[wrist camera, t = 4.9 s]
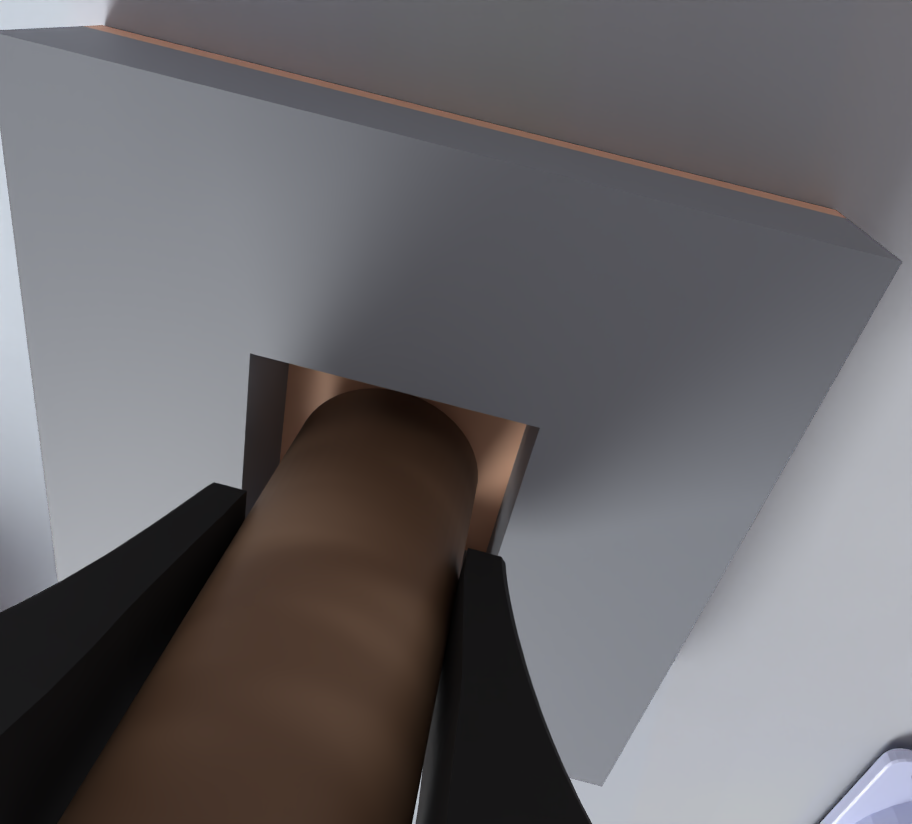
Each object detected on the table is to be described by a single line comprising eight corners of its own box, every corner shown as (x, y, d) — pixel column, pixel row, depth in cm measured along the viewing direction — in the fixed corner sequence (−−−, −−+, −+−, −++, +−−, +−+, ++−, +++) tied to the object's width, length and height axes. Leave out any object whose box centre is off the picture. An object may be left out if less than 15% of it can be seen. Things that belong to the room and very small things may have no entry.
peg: (496, 414, 14) (405, 923, 6) (457, 557, 16) (355, 1064, 9) (303, 367, 14) (-12, 814, 6) (290, 515, 16) (41, 982, 9)
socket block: (835, 210, 13) (901, 261, 10) (597, 686, 20) (601, 786, 18) (102, 25, 13) (-13, 31, 10) (129, 564, 20) (65, 645, 18)
